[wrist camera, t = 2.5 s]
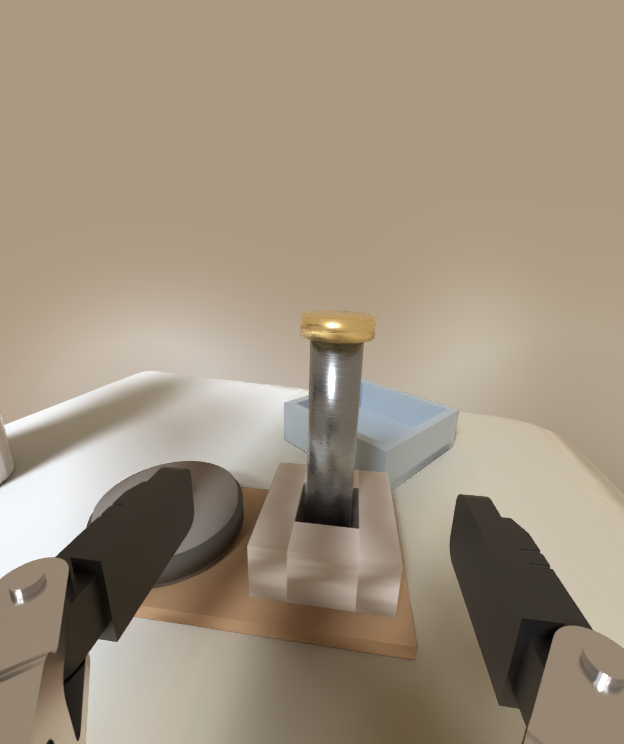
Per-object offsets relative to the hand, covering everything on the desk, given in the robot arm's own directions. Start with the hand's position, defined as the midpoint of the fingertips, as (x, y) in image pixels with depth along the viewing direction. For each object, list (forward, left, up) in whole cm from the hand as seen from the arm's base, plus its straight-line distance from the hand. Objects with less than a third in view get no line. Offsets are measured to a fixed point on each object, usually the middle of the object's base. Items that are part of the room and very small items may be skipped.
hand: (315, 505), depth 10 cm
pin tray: (-16, +25, -14) cm, 33 cm away
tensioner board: (-12, +5, -14) cm, 19 cm away
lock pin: (-7, +9, -13) cm, 17 cm away
